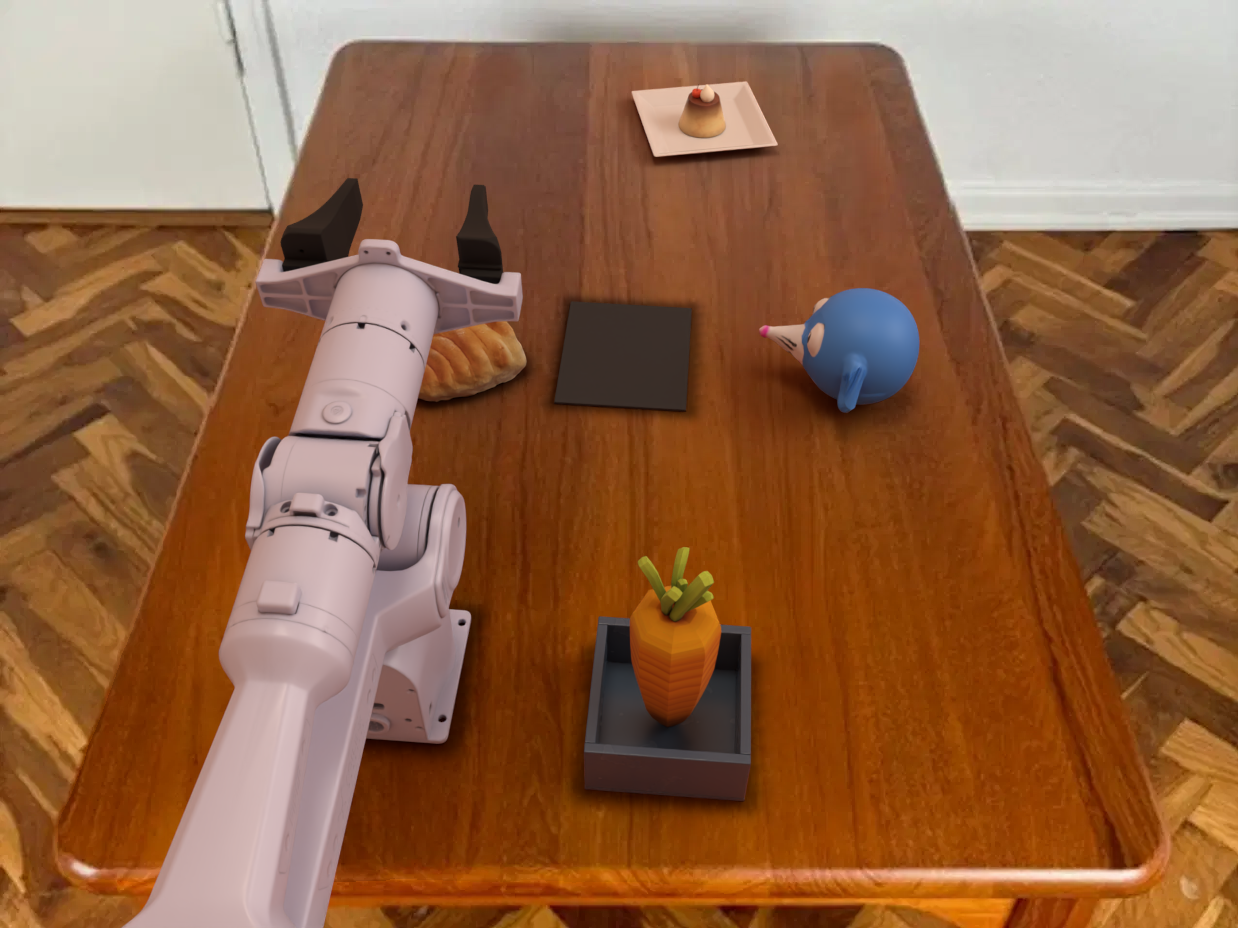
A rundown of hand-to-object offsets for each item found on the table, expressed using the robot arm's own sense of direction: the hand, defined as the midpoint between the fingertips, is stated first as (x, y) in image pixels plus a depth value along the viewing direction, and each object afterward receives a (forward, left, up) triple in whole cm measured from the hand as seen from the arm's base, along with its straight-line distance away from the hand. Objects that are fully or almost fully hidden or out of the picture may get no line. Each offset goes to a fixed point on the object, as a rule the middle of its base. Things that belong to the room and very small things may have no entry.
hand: (417, 194), depth 72 cm
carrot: (-22, -17, -22) cm, 35 cm away
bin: (-22, -17, -22) cm, 35 cm away
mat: (+11, -12, -22) cm, 27 cm away
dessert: (+45, -17, -22) cm, 53 cm away
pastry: (+8, 0, -22) cm, 23 cm away
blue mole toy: (+9, -28, -22) cm, 37 cm away
